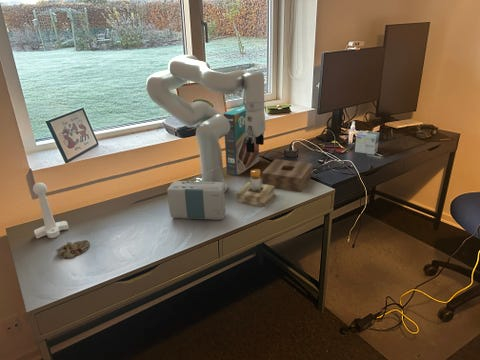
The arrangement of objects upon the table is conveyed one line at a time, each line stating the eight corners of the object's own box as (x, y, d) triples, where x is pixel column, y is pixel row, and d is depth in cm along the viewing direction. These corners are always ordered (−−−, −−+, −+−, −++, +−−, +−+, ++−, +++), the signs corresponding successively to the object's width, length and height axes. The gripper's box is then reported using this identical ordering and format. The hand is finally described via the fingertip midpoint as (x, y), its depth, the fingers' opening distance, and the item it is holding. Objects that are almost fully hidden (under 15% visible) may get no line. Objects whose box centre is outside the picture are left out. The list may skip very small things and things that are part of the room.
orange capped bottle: (249, 196, 156) (249, 171, 152) (253, 192, 160) (252, 168, 155) (258, 197, 155) (258, 173, 150) (262, 193, 158) (261, 169, 154)
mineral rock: (58, 257, 120) (53, 241, 125) (60, 266, 122) (55, 250, 127) (93, 247, 125) (86, 232, 130) (94, 256, 128) (88, 240, 133)
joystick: (66, 224, 143) (54, 176, 135) (71, 232, 137) (58, 183, 129) (34, 234, 137) (19, 185, 129) (38, 243, 132) (22, 192, 124)
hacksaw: (314, 174, 179) (314, 171, 178) (300, 168, 187) (300, 165, 186) (350, 163, 190) (350, 161, 189) (335, 157, 198) (335, 155, 197)
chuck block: (262, 185, 169) (261, 172, 166) (275, 171, 183) (275, 159, 181) (300, 192, 161) (301, 178, 159) (311, 176, 176) (312, 163, 174)
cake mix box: (237, 175, 180) (234, 114, 168) (226, 173, 183) (223, 113, 171) (259, 161, 197) (258, 104, 185) (249, 159, 200) (247, 103, 188)
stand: (237, 201, 155) (236, 193, 154) (248, 190, 165) (248, 181, 164) (264, 206, 151) (264, 197, 149) (274, 194, 160) (274, 185, 159)
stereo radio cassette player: (170, 220, 143) (163, 172, 135) (176, 209, 151) (170, 164, 143) (223, 222, 140) (220, 173, 132) (227, 211, 148) (224, 165, 140)
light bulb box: (377, 151, 204) (379, 132, 200) (374, 155, 199) (376, 135, 195) (357, 148, 209) (359, 129, 205) (354, 152, 204) (356, 133, 200)
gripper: (255, 111, 133) (255, 156, 140) (271, 101, 148) (271, 142, 155) (236, 110, 136) (237, 154, 143) (254, 100, 150) (254, 140, 158)
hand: (255, 148), depth 149 cm, fingers open, 9 cm apart
